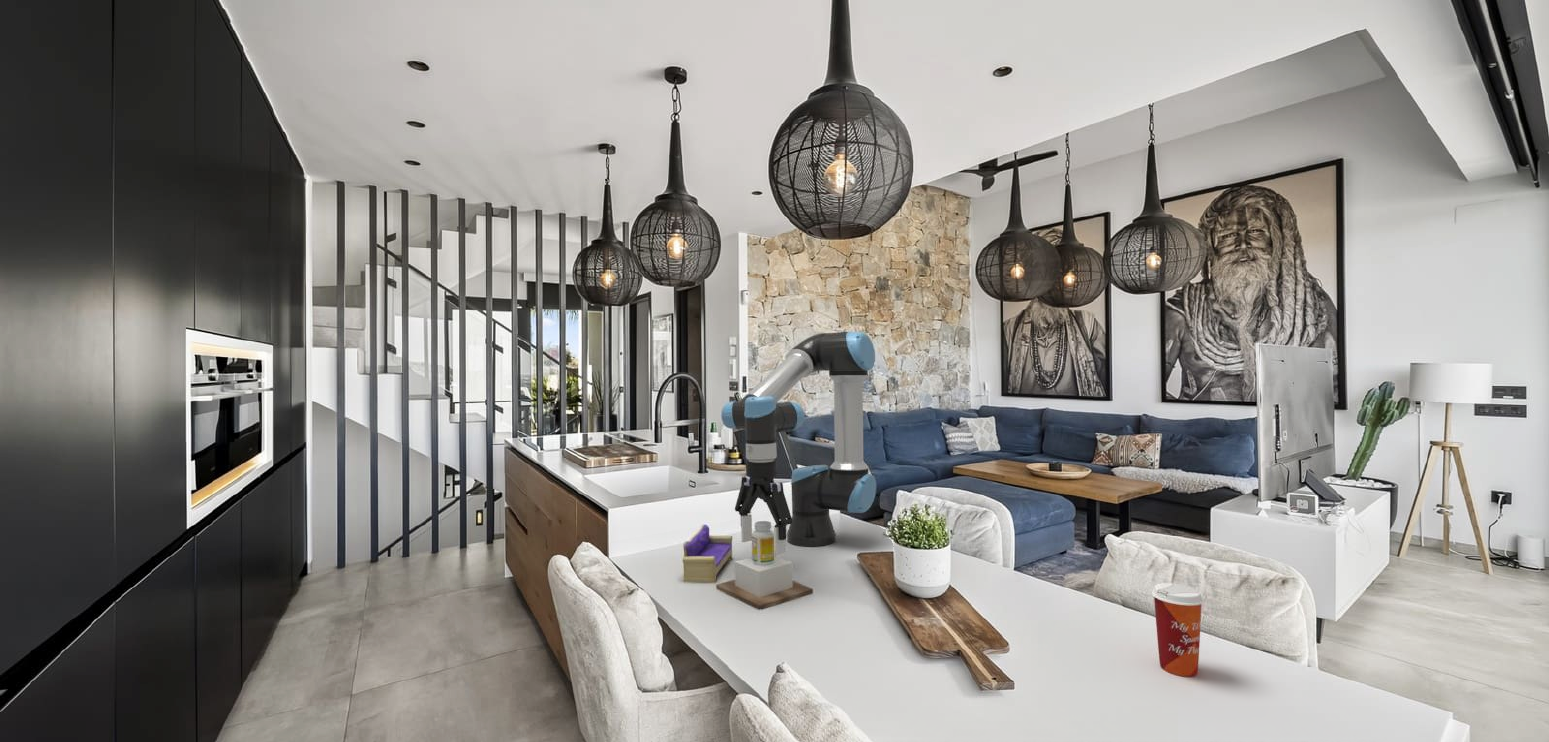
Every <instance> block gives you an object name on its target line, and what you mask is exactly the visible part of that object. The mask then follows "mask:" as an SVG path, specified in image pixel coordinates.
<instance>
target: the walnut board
mask: <svg viewBox="0 0 1549 742" xmlns="http://www.w3.org/2000/svg"><path fill="white" fill-rule="evenodd" d="M715 585H716V586H715V588H716V590H718V591H721V592H722V593H725V594H727V595H728V596H730V597H733V599H737V600H739V601H741V602H742V603H744V604H746V605H748V606H751V607H753V608H754V609H757V610H759V611H761V610H763V608H764V609H767V608H770V607H773V606H777V605H780V604H782V603H786V602H789V601H792V600H795V599H799V598H802V597H805V596H808V595H812V594H813V593H814V589H813V588H811V587H809V586H807V585H805V584H802V583H799V582H797V581H794V580H793V587H792V588H789V589H786V590H782V591H779V592H776V593H772V594H769V595H766V596H762V597H758V596H756V595H753V594H751V593H749V592H747V591H745V590H743V589H741V588H738V587H736V586H735V579H732V580H728V581H725V582H721V583H717V584H715ZM760 609H761V610H760Z"/></svg>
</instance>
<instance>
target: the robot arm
mask: <svg viewBox="0 0 1549 742" xmlns="http://www.w3.org/2000/svg"><path fill="white" fill-rule="evenodd" d="M875 362H876V351H875V347H874V344H873V342H872V340H871V338H870V337H869V335H868V334H867V333H866V332H862V331H851V330H850V331H840V332H829V333H827V332H821V333H817V334H813V335H812V336H810V337H807V338H806V339H804V340H802V341H801V342H798V344H796V345H794V347H793V348H792V349H790V350H789V351H788V352H787V354H786V356H785V359H784V360H783V361H782V362H781V363H779V365H777V366H776V367H775V368H774V369H773V370H772V371H771V372H769V374H768V375H767V376H765V377H764V378H763V379H762V380H761V381H760V382H758V384H756V385H755V386H754V387H753V388H752V389H751V390H750V391H749V392H748V393H747V394H746V395H744V397H742V398H741V399H740V400H738V401H737V400H733V401H728V402H726V403H725V404H724V405H723V407H722V409H721V421H722V424H723V425H724V427H726V428H727V429H730V430H737V431H745V441H744V442H745V459H746V462H745V474H746V476H742V477H741V480H740V481H741V483H740V489H739V492H738V495H737V499H736V503H735V507H734V510H735V512H738V514H739V516H740V527H741V528H740V529H741V542H742V543H747V542H752V533H753V524H752V523H753V521H752V519H753V517H752V515H753V514H752V508H753V507H754V506H755V503H756V501H757V500H758V499H760V500H762V501H763V502H764V503H765V504H766V506H767V507H768V509H769V511H770V514H771V516H772V519H773V521H774V522H775V525H774V526H773V529H774V531H773V533H774V555H779V554H780V555H781V554H784V553H786V552H787V551H786V550H787V549H786V546H787V545H786V540H787V542H788V543H789V544H791V545H795V546H801V547H822V546H827V545H831V544H833V543H834V542H836V530H835V529H834V525H833V522H832V519H831V516H830V510H832V511H833V510H834V511H839V512H846V513H847V512H848V513H850V514H853V513H855V514H856V513H858V514H863V513H866V512H867V511H868V510H869V509H870V508H871V506H872V504H873V503H874V500H875V498H876V494H877V481H876V477H875V476H874V475H872V474H871V473H870V472H869V465H868V464H866V463H865V461H864V402H863V401H864V398H863V397H864V395H863V391H864V390H863V388H864V384H863V383H864V380H865V379H867V378H868V375H869V373H868V371H870V370H872V369H873V368H874V367H875ZM822 371H825V372H827V371H828V376H829V379H831V380H832V381H833V392H834V393H833V394H834V395H833V399H834V400H833V401H834V402H833V405H834V407H833V408H834V409H833V410H834V415H833V418H834V419H833V420H834V425H833V427H834V429H833V430H834V461H833V462H832V464H831V465H830V466H828V465H827V464H816V465H808V466H801V467H798V468H795V469H793V471H792V472H791V481H790V484H791V510H792V511H791V512H790V509H789V505H788V502H787V498H786V496H785V493H784V484H783V482H781V481H780V482H776V483H775V481H774V478H775V477H776V476H777V474H778V472H777V471H778V470H777V469H778V468H777V467H778V464H777V461H776V460H775V459H776V458H777V457H778V455H777V454H778V453H777V452H778V451H777V433H778V434H779V433H783V432H784V433H785V432H793V431H795V430H798V429H799V428H801V427H802V425H803V423H804V421H805V412H804V409H803V408H802V406H801V405H800V404H799V403H798V402H795V401H783V402H780V401H781V399H783V398H784V396H786V394H787V393H788V392H790V390H791V389H792V388H794V387H795V385H797V383H799V382H800V381H801V380H802V379H803V378H807V377H809V376H810V375H811V374H813V373H815V372H822ZM788 525H789V527H788V530H787V526H788Z"/></svg>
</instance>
